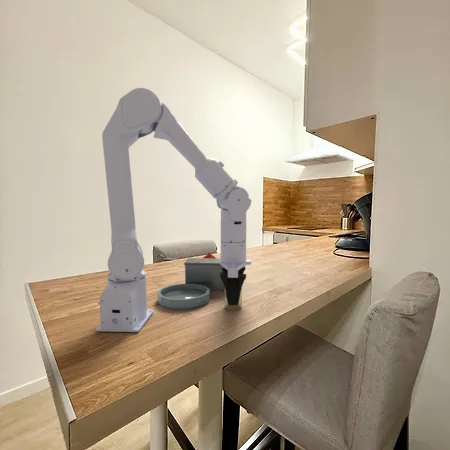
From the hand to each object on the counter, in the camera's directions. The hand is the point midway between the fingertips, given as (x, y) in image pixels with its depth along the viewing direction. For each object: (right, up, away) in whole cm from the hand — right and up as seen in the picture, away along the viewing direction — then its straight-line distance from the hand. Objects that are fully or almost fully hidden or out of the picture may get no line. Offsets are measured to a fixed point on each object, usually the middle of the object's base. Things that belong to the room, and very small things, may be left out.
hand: (233, 300), depth 62 cm
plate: (-12, -1, +5) cm, 13 cm away
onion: (-7, 0, +26) cm, 27 cm away
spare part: (0, -1, 0) cm, 1 cm away
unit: (-6, 0, +14) cm, 16 cm away
